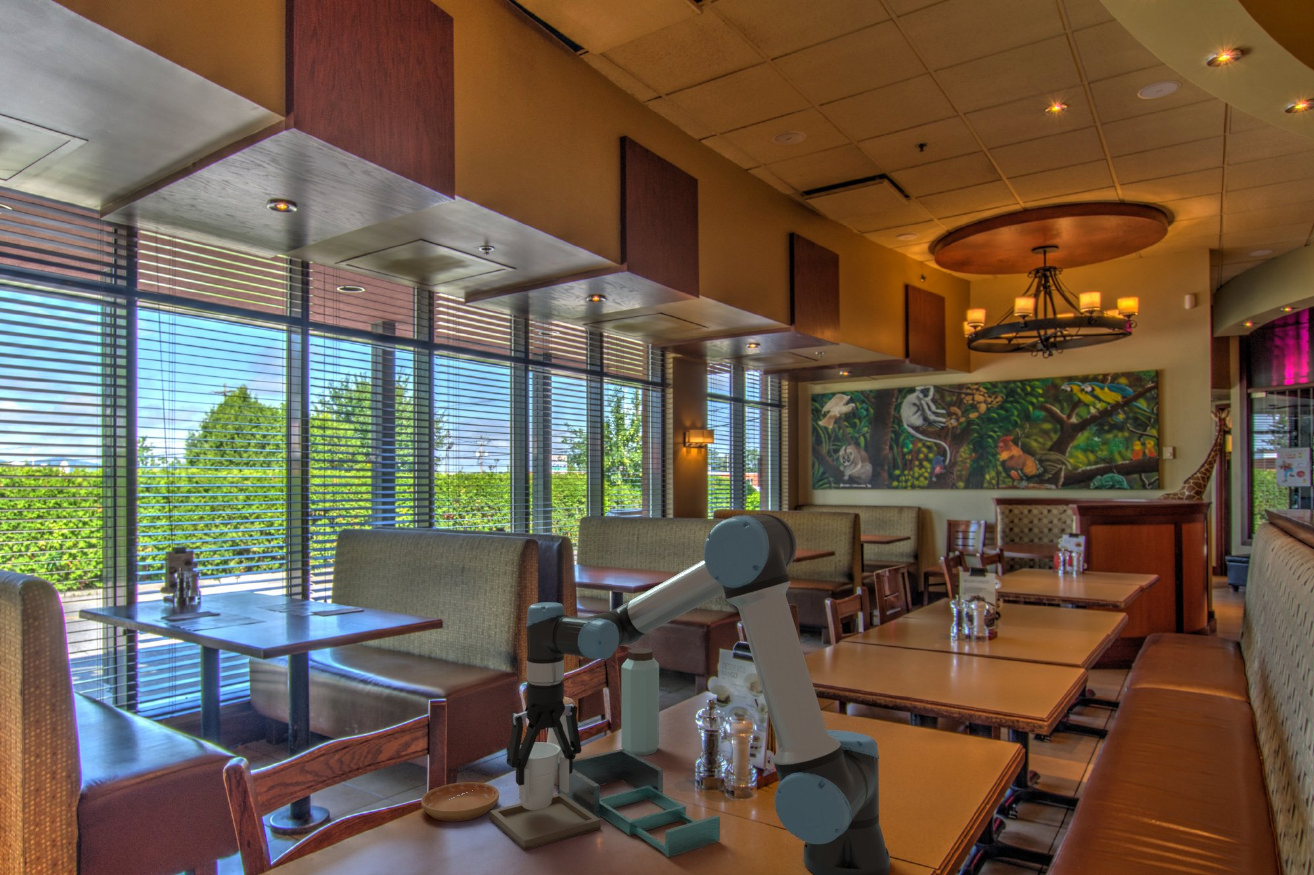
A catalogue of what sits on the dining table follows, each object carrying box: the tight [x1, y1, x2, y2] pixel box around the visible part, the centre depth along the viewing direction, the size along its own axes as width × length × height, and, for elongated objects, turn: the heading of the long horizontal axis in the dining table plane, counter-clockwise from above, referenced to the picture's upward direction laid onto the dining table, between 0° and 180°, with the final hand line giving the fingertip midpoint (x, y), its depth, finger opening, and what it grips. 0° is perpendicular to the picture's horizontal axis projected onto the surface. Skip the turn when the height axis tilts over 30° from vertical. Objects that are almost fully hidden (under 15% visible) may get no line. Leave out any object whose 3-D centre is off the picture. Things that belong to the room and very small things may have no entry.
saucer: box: [420, 781, 500, 822], centre depth 171 cm, size 16×16×3 cm
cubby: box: [556, 748, 664, 819], centre depth 177 cm, size 16×17×6 cm
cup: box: [514, 741, 561, 810], centre depth 166 cm, size 10×10×11 cm
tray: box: [489, 793, 602, 851], centre depth 163 cm, size 16×16×2 cm
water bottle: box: [620, 647, 660, 756], centre depth 208 cm, size 10×10×25 cm
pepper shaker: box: [546, 696, 577, 786], centre depth 188 cm, size 7×7×19 cm
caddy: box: [599, 786, 721, 858], centre depth 162 cm, size 26×14×4 cm, turn 34°
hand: (544, 795), depth 163 cm, fingers closed on cup, 8 cm apart
